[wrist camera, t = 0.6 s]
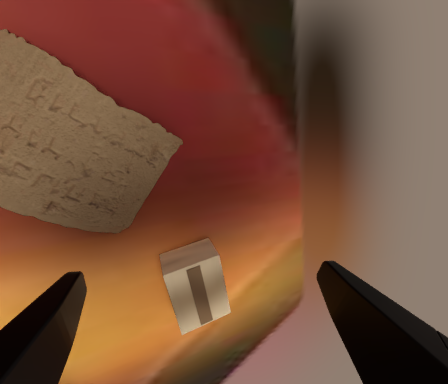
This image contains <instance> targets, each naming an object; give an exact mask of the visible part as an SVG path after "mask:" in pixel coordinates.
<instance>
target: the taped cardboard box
mask: <svg viewBox="0 0 448 384" xmlns="http://www.w3.org/2000/svg"><path fill="white" fill-rule="evenodd" d="M159 256H160V262H161V267H162V273H163V277H164V281H165V284H166V287H167V290H168V293H169V296H170V299H171V302H172V306H173V309H174V312H175V315H176V318H177V321H178V324H179V327H180V330H181V334H182V335H183V334H186V333H188V332H190V331H192V330H194V329H197V328H199V327H201V326H203V325H205V324H207V323H210V322H212V321H214V320H216V319H218V318H220V317H223V316H225V315H227V314H229V313H231V311H230V306H229V301H228V296H227V291H226V286H225V281H224V276H223V271H222V266H221V261H220V256H219V254H218V252H217V250H216V249H215V247H214V246H213V244H212V242H211V241H210V239H209V238H206V239H203V240H200V241H197V242H195V243H192V244H189V245H186V246H183V247H180V248H177V249H174V250H171V251H168V252H165V253H162V254H159Z"/></svg>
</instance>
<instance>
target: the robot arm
mask: <svg viewBox="0 0 448 384" xmlns="http://www.w3.org/2000/svg"><path fill="white" fill-rule="evenodd" d="M317 281H318V284H319V286H320V289H321V292H322V294H323V297H324V300H325V302H326V305H327V308H328V310H329V313H330V315H331V318H332V320H333V322H334V324H335V326H336V328H337V330H338V333H339V335H340V337H341V339H342V341H343V343H344V345H345V347H346V349H347V351H348V353H349V355H350V357H351V359H352V362H353V364H354V366H355V368H356V370H357V372H358V374H359V376H360V378H361V380H362V382H363V384H448V338H447V337H446V336H445V335H443V334H442V333H440V332H439V331H436V330H435V329H434V328H433V327H431V326H430V325H428V324H426V323H425V322H424V321H422V320H421V319H419V318H418V317H416V316H415V315H413V314H412V313H410V312H409V311H408V310H406V309H405V308H403V307H402V306H400V305H399V304H397V303H396V302H394V301H393V300H391V299H390V298H388V297H387V296H385V295H384V294H382V293H381V292H379V291H378V290H376V289H375V288H373V287H372V286H370V285H369V284H368V283H366V282H364V281H363V280H362V279H360V278H359V277H357V276H356V275H354V274H353V273H351V272H350V271H348V270H347V269H345V268H344V267H342V266H341V265H339V264H338V263H336V262H335V261H324V262H323V263H322V265H321V267H320V269H319V271H318V273H317ZM86 292H87V287H86V283H85V279H84V275H83V273H82V272H80V271H79V272H68V273H66V274H65V275H63V276H62V277H61V278H60V279H59V280H58V281H56V282H55V283H54V284H53V285H52V286H51V287H50V288H48V289H47V290H46V291H45V292H44V293H43V294H41V295H40V296H39V297H38V298H37V299H36V300H35V301H33V302H32V303H31V304H30V305H29V306H28V307H26V308H25V309H24V310H23V311H22V312H21V313H20V314H18V315H17V316H16V317H15V318H14V319H13V320H11V321H10V322H9V323H8V324H7V325H6V326H5V327H3V328H2V329H1V330H0V384H58V383H59V380H60V378H61V375H62V372H63V370H64V367H65V364H66V362H67V359H68V356H69V354H70V351H71V348H72V345H73V342H74V338H75V335H76V331H77V327H78V324H79V320H80V316H81V312H82V308H83V305H84V301H85V297H86Z"/></svg>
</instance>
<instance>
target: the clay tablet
mask: <svg viewBox="0 0 448 384" xmlns="http://www.w3.org/2000/svg"><path fill="white" fill-rule="evenodd" d="M180 145H183V141H182V139H180V138H179V137H177V136H175V135H172V133H167V132H166V129H165V128H163V127H162V126H161V125H160V124H158V123H153V124H152V122H151V121H150V120H149V119H148V118H147V117H145V116H143V115H141V114H139V113H137V112H135V111H133V110H128V109H126V108H124V107H119V106H118V105H116V103H115V102H114V100H113V99H112V98H111V97H109V96H105V95H104V94H102V93H100V92H98V91H97V90H96V88H95V87H94V86H92V85H91V84H90V83H88V82H87V81H86V80H83V79H82V78H79V77H77V76H76V75H75V74H74V72H73V71H72V69H71V68H69V67H66V66H64V65H62V64H61V63H60V62H59V60H57V59H56V58H55V57H53V56H50V55H49V54H48V53H47V52H45V51H43V50H40V49H39V48H38V47H35V46H34V45H30V44H28V43H26V41H25V40H24V39H23V37H18V38H16V36H15V34H12V33H10V34H9V33H8V31H7V29H3V30H0V207H2V208H5V209H7V210H10V211H12V212H15V213H18V214H21V215H24V216H34V217H36V218H37V219H40V220H42V221H45V222H51V223H54V224H60V225H61V226H64V227H70V228H78V229H81V230H85V231H91V232H105V233H108V232H111V233H120V232H121V231H122V230H123V229H125V228H128V227H129V226H130V225H131V224H132V222H133V220H134V218H135V216H136V214H137V212H138V211H139V209H140V208H141V206H142V204H143V203H144V201H145V199H146V198H147V196H148V195H149V193H150V192H151V190H152V189H153V187H154V186H155V184H156V182H157V180H158V179H159V177H160V175H161V174H162V172H163V171H164V169H165V168H166V166H167V165H168V162H169V159H170V157H171V156H172V155H173V154H174V153H175V152H176V151H177V150H178V148H179V146H180Z"/></svg>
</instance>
